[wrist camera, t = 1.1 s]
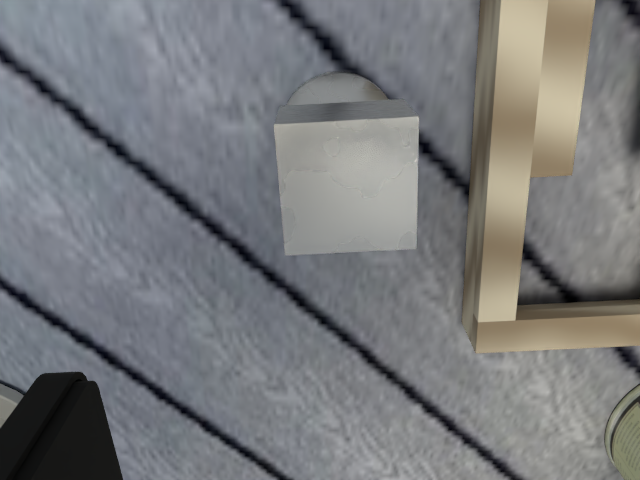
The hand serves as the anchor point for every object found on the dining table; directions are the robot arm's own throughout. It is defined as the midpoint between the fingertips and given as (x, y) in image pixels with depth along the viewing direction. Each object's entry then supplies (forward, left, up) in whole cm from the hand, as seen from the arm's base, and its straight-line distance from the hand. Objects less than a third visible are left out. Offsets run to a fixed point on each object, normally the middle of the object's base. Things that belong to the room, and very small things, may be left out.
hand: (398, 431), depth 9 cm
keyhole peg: (0, 0, -22) cm, 22 cm away
